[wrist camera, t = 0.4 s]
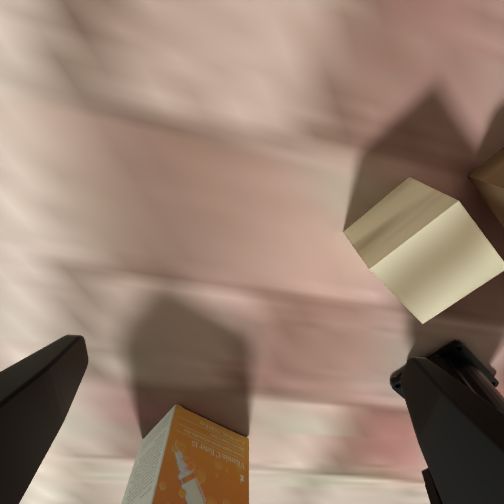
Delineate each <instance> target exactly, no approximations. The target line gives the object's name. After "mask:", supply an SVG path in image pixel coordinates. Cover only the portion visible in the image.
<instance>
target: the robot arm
mask: <svg viewBox="0 0 504 504" xmlns="http://www.w3.org/2000/svg"><path fill="white" fill-rule="evenodd" d="M87 365H88V354H87V349H86V344H85V339H84V337H83V336H81V335H66V336H64V337H62V338H60V339H58V340H56V341H55V342H53V343H51V344H49V345H48V346H46V347H44V348H42V349H40V350H39V351H37V352H35V353H33V354H31V355H30V356H28V357H26V358H24V359H23V360H21V361H19V362H17V363H15V364H14V365H12V366H10V367H8V368H6V369H5V370H3V371H1V372H0V504H19V503H20V501H21V499H22V497H23V495H24V494H25V492H26V490H27V488H28V486H29V484H30V483H31V481H32V479H33V477H34V475H35V474H36V472H37V470H38V468H39V466H40V464H41V463H42V461H43V459H44V457H45V455H46V453H47V452H48V450H49V448H50V446H51V444H52V442H53V441H54V439H55V437H56V435H57V433H58V432H59V430H60V428H61V426H62V424H63V422H64V420H65V418H66V415H67V413H68V411H69V408H70V406H71V404H72V401H73V399H74V397H75V394H76V392H77V390H78V387H79V385H80V383H81V380H82V378H83V375H84V373H85V371H86V368H87ZM498 384H499V382H498V381H497V380H496V378H495V377H494V376H493V375H492V374H491V373H490V372H489V371H488V370H487V369H486V368H485V367H484V366H483V364H482V363H481V362H480V361H479V360H478V359H477V358H476V357H475V356H474V355H473V354H472V353H471V352H470V351H469V349H468V348H467V347H466V346H465V345H464V344H463V343H462V342H461V341H458V340H457V341H454V342H452V343H450V344H448V345H447V346H445V347H444V348H442V349H440V350H439V351H437V352H435V353H434V354H432V355H431V356H429V357H427V358H424V357H410V358H409V359H408V360H407V363H406V365H405V368H404V371H403V373H402V374H400V375H398V376H397V377H395V378H394V379H392V380H391V381H390V385H391V387H392V388H393V390H395V391H396V392H397V393H398V394H399V395H400V396H402V397H403V398H404V399H405V401H406V404H407V408H408V411H409V414H410V418H411V421H412V424H413V427H414V431H415V434H416V437H417V440H418V443H419V445H420V448H421V451H422V453H423V456H424V458H425V460H426V463H427V465H428V468H427V469H425V470H423V471H422V475H423V478H424V481H425V487H426V490H427V493H428V496H429V500H430V503H431V504H504V397H503V396H502V395H501V394H500V393H499V391H498V390H497V389H496V388H495V387H497V386H498Z"/></svg>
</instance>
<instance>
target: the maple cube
mask: <svg viewBox="0 0 504 504" xmlns="http://www.w3.org/2000/svg"><path fill="white" fill-rule="evenodd" d="M343 233H344V234H345V236H346V237H347V239H348V240H349V241H350V243H351V244H352V246H353V247H354V248H355V250H356V251H357V253H358V254H359V255H360V257H361V258H362V260H363V261H364V262H365V264H366V265H367V267H368V268H369V269H370V270H371V271H372V272H373V273H374V274H375V276H376V277H377V278H378V279H379V280H380V281H381V282H382V283H383V284H384V285H385V286H386V287H387V288H388V289H389V290H390V291H391V292H392V293H393V294H394V295H395V296H396V297H397V298H398V299H399V300H400V301H401V302H402V303H403V304H404V305H405V306H406V307H407V309H408V310H409V311H410V312H411V313H412V314H413V315H414V316H415V317H416V318H417V319H418V320H419V321H420V322H421V323H422V324H424V323H425V322H427V321H428V320H430V319H431V318H433V317H434V316H436V315H437V314H439V313H440V312H442V311H443V310H445V309H446V308H448V307H449V306H451V305H452V304H454V303H455V302H457V301H459V300H460V299H462V298H463V297H465V296H466V295H468V294H469V293H471V292H472V291H474V290H475V289H477V288H478V287H480V286H481V285H483V284H484V283H486V282H487V281H489V280H490V279H492V278H493V277H495V276H496V275H498V274H500V273H501V272H503V271H504V261H503V260H502V259H501V257H500V256H499V254H498V253H497V252H496V250H495V249H494V248H493V246H492V245H491V244H490V242H489V241H488V240H487V238H486V237H485V236H484V234H483V233H482V231H481V230H480V229H479V227H478V226H477V225H476V223H475V222H474V221H473V219H472V218H471V217H470V215H469V214H468V213H467V211H466V210H465V208H464V207H463V206H462V204H461V203H460V202H459V201H458V200H456V199H454V198H452V197H450V196H448V195H446V194H444V193H442V192H440V191H438V190H436V189H433V188H431V187H429V186H427V185H425V184H423V183H421V182H419V181H417V180H415V179H413V178H411V177H408V178H407V179H406V180H405V181H403V182H402V183H401V184H400V185H399V186H397V187H396V188H395V189H394V190H393V191H391V192H390V193H389V194H388V195H387V196H385V197H384V198H383V199H382V200H381V201H379V202H378V203H377V204H376V205H375V206H373V207H372V208H371V209H370V210H369V211H367V212H366V213H365V214H364V215H363V216H362V217H360V218H359V219H358V220H357V221H356V222H354V223H353V224H352V225H351V226H350V227H348V228H347V229H346V230H345V231H344V232H343Z"/></svg>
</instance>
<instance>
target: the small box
mask: <svg viewBox="0 0 504 504" xmlns="http://www.w3.org/2000/svg"><path fill="white" fill-rule="evenodd" d="M122 504H249V439H248V438H247V437H244V436H242V435H239V434H237V433H235V432H233V431H230V430H228V429H226V428H224V427H222V426H220V425H218V424H216V423H213V422H211V421H209V420H207V419H205V418H203V417H201V416H199V415H197V414H195V413H193V412H190V411H188V410H186V409H184V408H183V407H182V406H179V405H177V404H175V405H174V406H173V407H172V408H171V410H170V411H169V412H168V413H167V414H166V415H165V416H164V417H163V418H162V419H161V420H160V421H159V422H158V424H157V425H156V426H155V427H154V428H153V429H152V430H151V431H150V432H149V433H148V434H147V435H146V436H145V438H144V439H143V440H142V441H141V444H140V447H139V450H138V453H137V456H136V459H135V463H134V466H133V469H132V472H131V475H130V478H129V481H128V485H127V488H126V491H125V494H124V497H123V500H122Z"/></svg>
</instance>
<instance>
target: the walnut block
mask: <svg viewBox="0 0 504 504" xmlns="http://www.w3.org/2000/svg"><path fill="white" fill-rule="evenodd" d="M468 177H469V179H470V180H471V182H472V183H473V184H474V186H475V187H476V189H477V190H478V192H479V193H480V194H481V196H482V197H483V199H484V200H485V202H486V203H487V204H488V206H489V207H490V209H491V210H492V212H493V213H494V214H495V216H496V217H497V219H498V220H499V222H500V223H501V224H502V226H503V227H504V148H503V149H502V150H500V151H499V152H498V153H497V154H495V155H494V156H493V157H491V158H490V159H489V160H488V161H486V162H485V163H484V164H483V165H481V166H480V167H479V168H477V169H476V170H475V171H474V172H472V173H471V174H470V175H469V176H468Z"/></svg>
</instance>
